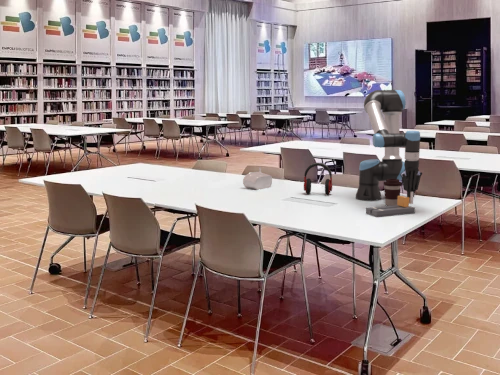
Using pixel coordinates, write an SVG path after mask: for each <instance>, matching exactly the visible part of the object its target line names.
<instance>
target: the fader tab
mask: <svg viewBox="0 0 500 375" xmlns="http://www.w3.org/2000/svg"><path fill="white" fill-rule="evenodd" d="M397 205H399V206H401V207H409V206H410V205H409V197H407V195H406V196H405V195H401V194H400V196H398V199H397Z"/></svg>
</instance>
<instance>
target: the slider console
mask: <svg viewBox="0 0 500 375" xmlns="http://www.w3.org/2000/svg"><path fill="white" fill-rule="evenodd" d="M415 212H416V207H414V206H410V205H409V207H401V206H399V205H391V206H386V205H383V206H371V207H366V208H365V214H367V215H369V216H373V217H375V218H379V217H389V216H390V217H391V216H399V215H410V214H415Z"/></svg>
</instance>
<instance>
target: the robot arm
mask: <svg viewBox="0 0 500 375" xmlns="http://www.w3.org/2000/svg"><path fill="white" fill-rule="evenodd" d="M406 105H407V102H406V96H405V93H404V92H403V91H402V90H400V89H376V90H373V91H371V92H370V93H368V94H367V95H366V97H365V99H364V102H363V109H364V111H365V113H366V114H367V115H368V117H369V118H368V119H369V121H370V124H371V126H372V130H373V133H374V134H373V135H372V145H373V147H375V148H384V155H383V157H382V158H381V161H380V160H379V159H376V158H370V159H365V160H363V161H361V162H360V163H359V167H358V168H359V169H358V170H359V171H358V172H359V173H358V174H359V176H358V188H357V191H356V193H355V199H356V200H360V201H361V200H362V201H379V200H382V193H381V189H380V186H379V184H380V182H385V181H386V180H387V179H398V180H399V181H401V182H402V187H403V190H404V191H406V197H409V204H410V205H412V204H414V198H415V192H416V191H417V190H418V189H419V186H420V181H421V177H422V175H423V172H421V171H420V170H419V167H420V148H421V142H420V141H421V132H420V131H419V130H407V131H405V132H400V115H402V113H403V110H405V109H406ZM400 148H404V161H403V158H402V157H401V156H400Z"/></svg>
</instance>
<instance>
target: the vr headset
mask: <svg viewBox="0 0 500 375" xmlns="http://www.w3.org/2000/svg"><path fill="white" fill-rule="evenodd" d="M258 168H259V171H253V172H252V171H251V172H249V173H247V174H245V175H244V177H243V180H242V185H243V186H244V187H245V188H246V189H252V190H259V189H260V190H264V189H268V188H271V186H272V184H273V177H272V175H270V174H267V173H264V172H262V167H261V166H258ZM260 190H259V191H260Z"/></svg>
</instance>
